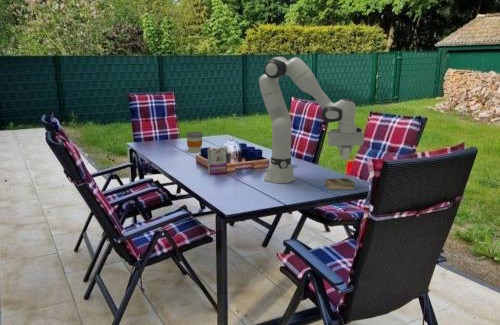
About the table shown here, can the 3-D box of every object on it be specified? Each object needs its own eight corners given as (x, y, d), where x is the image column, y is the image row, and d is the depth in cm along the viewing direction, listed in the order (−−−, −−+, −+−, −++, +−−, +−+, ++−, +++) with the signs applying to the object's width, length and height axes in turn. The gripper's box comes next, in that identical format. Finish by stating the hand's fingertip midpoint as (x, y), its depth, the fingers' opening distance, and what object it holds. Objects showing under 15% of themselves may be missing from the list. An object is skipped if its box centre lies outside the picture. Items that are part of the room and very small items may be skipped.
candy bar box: (224, 171, 280) (224, 146, 276) (226, 173, 275) (226, 148, 271) (207, 173, 275) (207, 147, 272) (209, 175, 271) (209, 149, 267)
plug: (340, 158, 244) (341, 144, 243) (346, 158, 245) (347, 144, 243) (343, 159, 241) (343, 145, 239) (349, 159, 242) (349, 145, 240)
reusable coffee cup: (186, 150, 346) (186, 131, 343) (202, 150, 347) (202, 131, 344) (186, 153, 334) (185, 134, 330) (202, 153, 335) (202, 134, 332)
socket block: (324, 185, 249) (325, 178, 248) (347, 184, 252) (348, 177, 251) (330, 190, 241) (331, 182, 240) (354, 189, 243) (354, 181, 243)
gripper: (330, 130, 235) (329, 155, 238) (365, 129, 238) (364, 153, 241) (326, 128, 241) (325, 153, 244) (361, 127, 244) (359, 151, 247)
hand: (345, 153), depth 242 cm, fingers closed on plug, 4 cm apart
